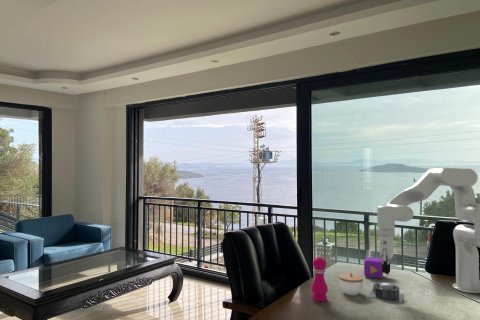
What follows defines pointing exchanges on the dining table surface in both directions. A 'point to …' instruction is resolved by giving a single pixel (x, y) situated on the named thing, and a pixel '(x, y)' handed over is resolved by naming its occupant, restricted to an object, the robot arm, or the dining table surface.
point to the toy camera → (373, 267)
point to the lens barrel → (386, 294)
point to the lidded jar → (351, 283)
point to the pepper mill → (319, 280)
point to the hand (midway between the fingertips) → (386, 271)
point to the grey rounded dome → (386, 286)
